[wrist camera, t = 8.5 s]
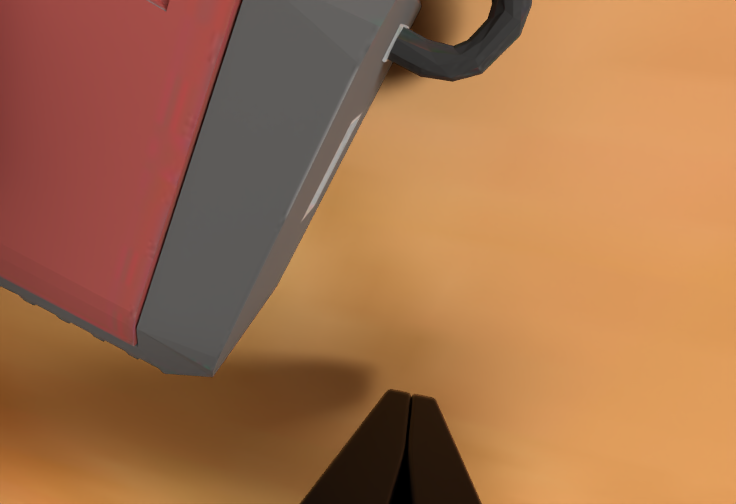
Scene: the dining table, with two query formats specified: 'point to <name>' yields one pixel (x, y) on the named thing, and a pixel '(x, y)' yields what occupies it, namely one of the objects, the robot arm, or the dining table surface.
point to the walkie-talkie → (188, 151)
